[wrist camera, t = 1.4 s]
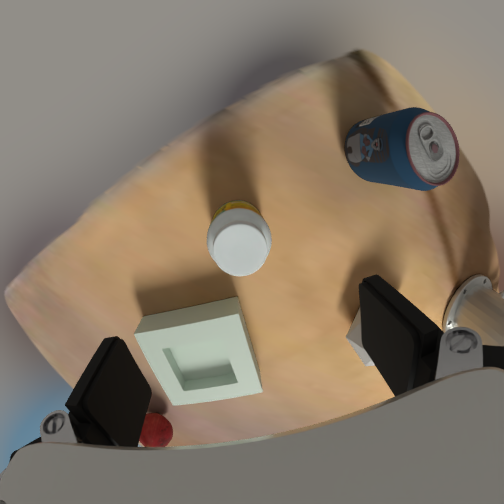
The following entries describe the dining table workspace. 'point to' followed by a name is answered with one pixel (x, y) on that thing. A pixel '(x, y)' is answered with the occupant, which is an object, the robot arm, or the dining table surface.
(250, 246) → the supplement bottle
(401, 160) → the soda can
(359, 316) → the die
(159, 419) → the onion
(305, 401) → the dining table surface
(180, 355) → the sage block
